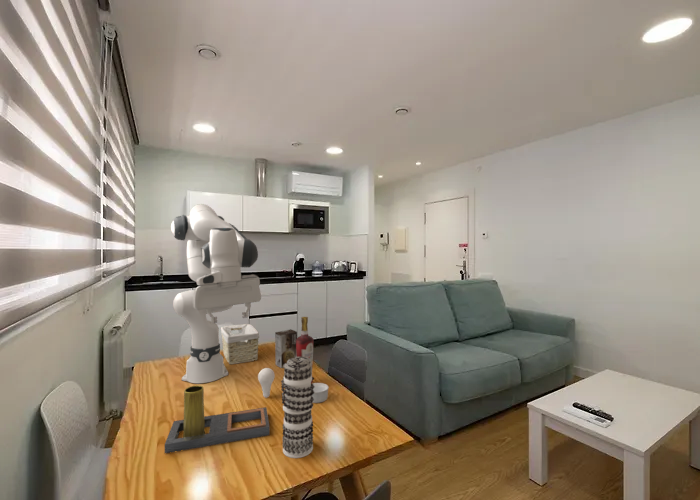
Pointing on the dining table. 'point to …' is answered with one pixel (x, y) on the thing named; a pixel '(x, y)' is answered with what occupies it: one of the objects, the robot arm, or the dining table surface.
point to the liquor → (305, 343)
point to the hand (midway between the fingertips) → (230, 320)
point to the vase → (194, 411)
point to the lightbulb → (266, 380)
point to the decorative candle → (297, 407)
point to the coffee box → (285, 346)
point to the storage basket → (240, 343)
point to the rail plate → (219, 430)
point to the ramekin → (320, 392)
